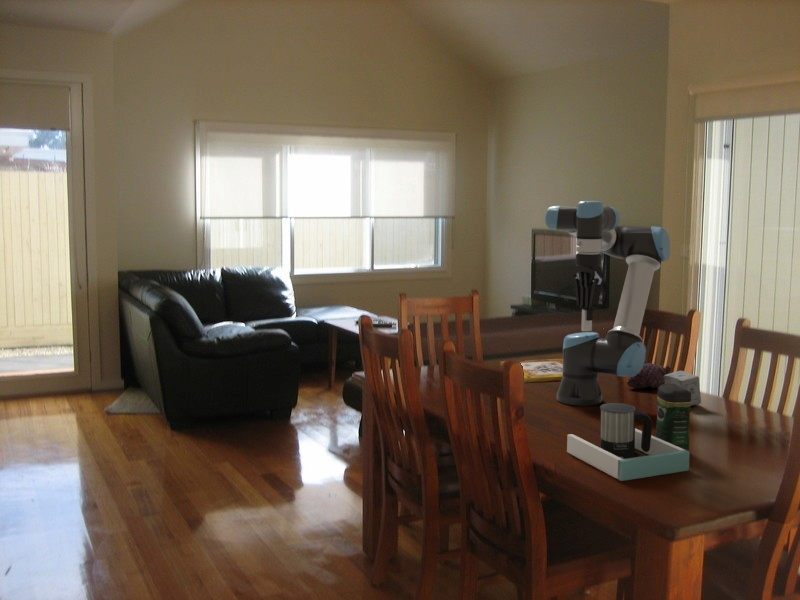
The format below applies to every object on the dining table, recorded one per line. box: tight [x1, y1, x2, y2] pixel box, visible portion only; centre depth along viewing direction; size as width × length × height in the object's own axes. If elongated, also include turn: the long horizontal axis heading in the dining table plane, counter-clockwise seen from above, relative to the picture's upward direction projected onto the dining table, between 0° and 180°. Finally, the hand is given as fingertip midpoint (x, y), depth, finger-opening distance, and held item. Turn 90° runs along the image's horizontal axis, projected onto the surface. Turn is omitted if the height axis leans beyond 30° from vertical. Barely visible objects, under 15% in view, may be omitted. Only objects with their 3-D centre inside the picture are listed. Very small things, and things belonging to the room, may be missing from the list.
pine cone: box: [626, 362, 673, 390], centre depth 305 cm, size 18×10×10 cm
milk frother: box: [599, 402, 653, 459], centre depth 229 cm, size 14×16×15 cm
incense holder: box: [664, 370, 702, 406], centre depth 283 cm, size 10×8×10 cm
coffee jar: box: [655, 383, 691, 452], centre depth 233 cm, size 10×8×19 cm
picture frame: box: [499, 358, 563, 383], centre depth 332 cm, size 27×2×30 cm
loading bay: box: [566, 427, 690, 482], centre depth 226 cm, size 24×21×5 cm
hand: (586, 330), depth 256 cm, fingers closed
